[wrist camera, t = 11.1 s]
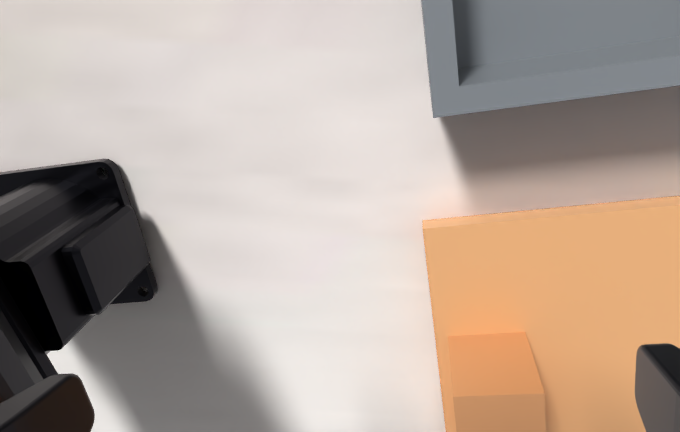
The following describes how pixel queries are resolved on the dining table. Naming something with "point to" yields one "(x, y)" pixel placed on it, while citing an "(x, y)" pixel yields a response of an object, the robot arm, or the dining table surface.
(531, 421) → the lid
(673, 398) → the robot arm
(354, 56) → the dining table surface
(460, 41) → the tub
